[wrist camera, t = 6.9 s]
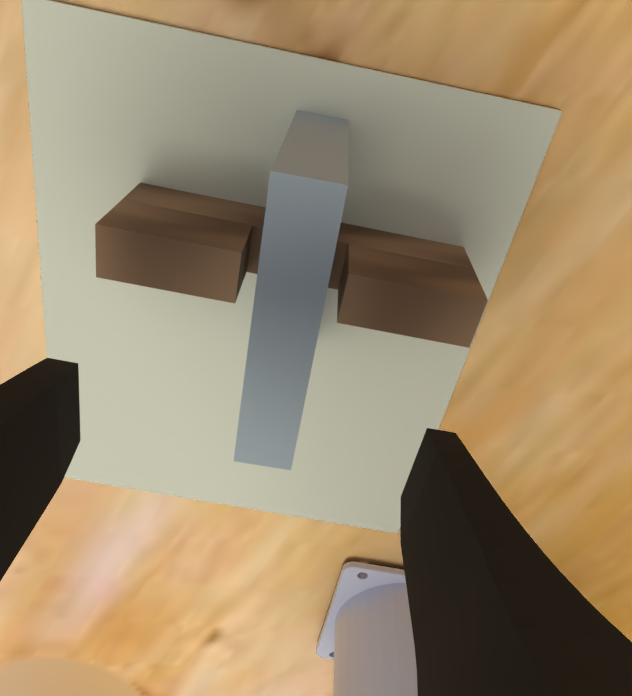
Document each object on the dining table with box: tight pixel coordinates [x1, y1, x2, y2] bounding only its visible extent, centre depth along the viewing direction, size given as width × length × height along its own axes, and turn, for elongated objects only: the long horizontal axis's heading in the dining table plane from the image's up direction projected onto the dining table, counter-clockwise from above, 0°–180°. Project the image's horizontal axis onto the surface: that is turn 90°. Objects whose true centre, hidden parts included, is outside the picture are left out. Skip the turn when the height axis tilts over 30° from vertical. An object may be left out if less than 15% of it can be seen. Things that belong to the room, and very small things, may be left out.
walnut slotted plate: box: [95, 183, 488, 348], centre depth 18 cm, size 11×2×4 cm, turn 80°
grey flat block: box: [234, 110, 348, 470], centre depth 17 cm, size 2×8×7 cm, turn 171°
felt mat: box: [22, 0, 563, 534], centre depth 22 cm, size 16×19×1 cm
